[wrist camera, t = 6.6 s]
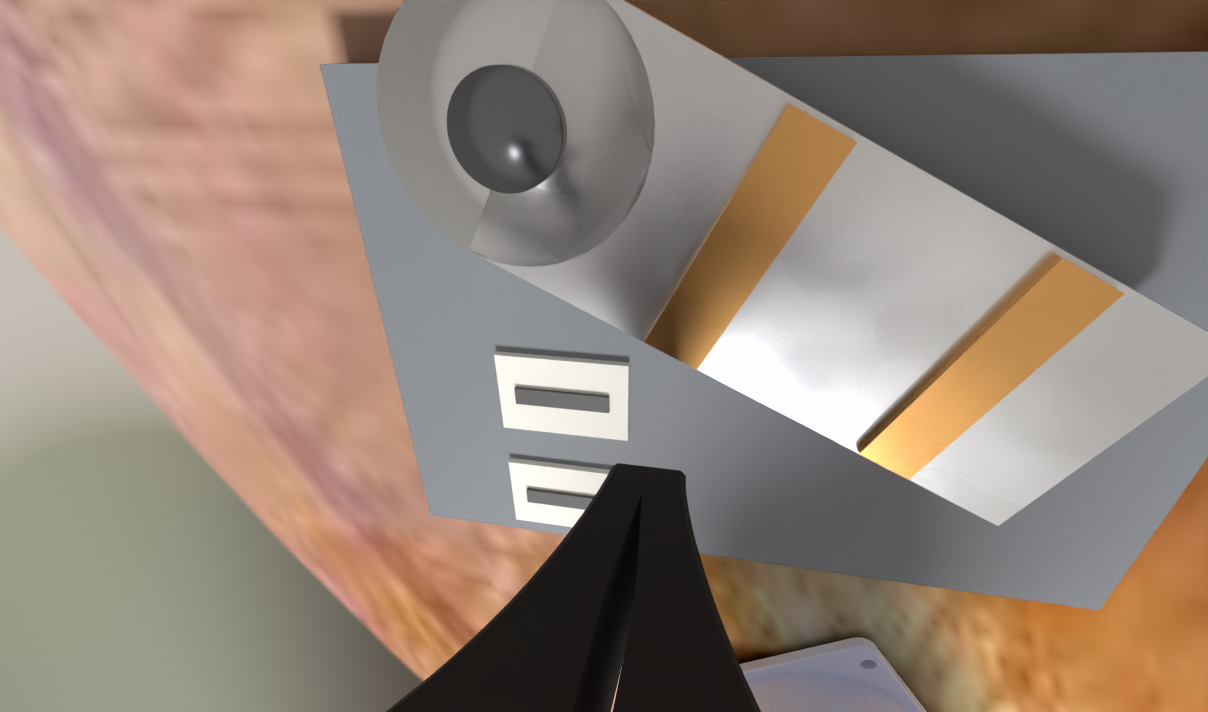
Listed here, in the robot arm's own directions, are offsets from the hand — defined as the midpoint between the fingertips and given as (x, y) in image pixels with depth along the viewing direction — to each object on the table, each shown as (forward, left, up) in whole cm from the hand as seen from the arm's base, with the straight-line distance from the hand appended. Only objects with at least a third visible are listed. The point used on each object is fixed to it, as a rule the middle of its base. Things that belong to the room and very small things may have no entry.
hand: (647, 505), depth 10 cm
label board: (-1, -2, -5) cm, 6 cm away
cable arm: (+2, -4, -3) cm, 6 cm away
